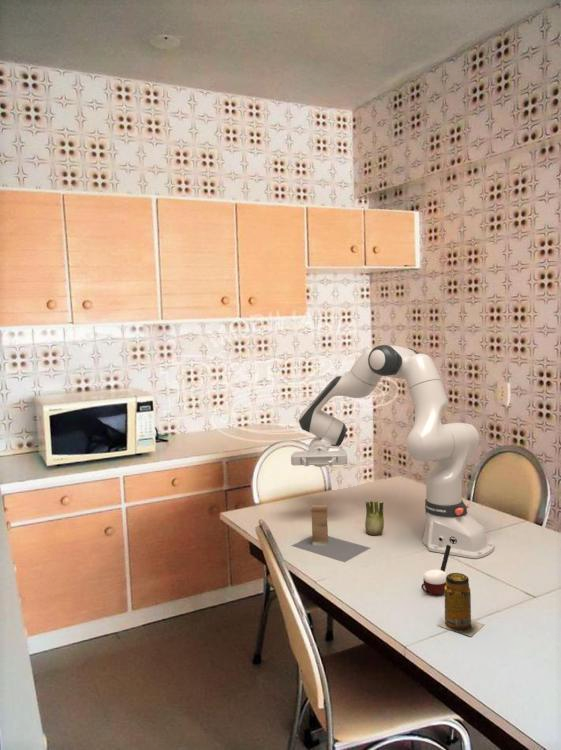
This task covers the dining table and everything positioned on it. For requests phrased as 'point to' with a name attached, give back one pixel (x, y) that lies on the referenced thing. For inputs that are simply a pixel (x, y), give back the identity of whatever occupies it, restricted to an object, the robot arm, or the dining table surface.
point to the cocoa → (436, 577)
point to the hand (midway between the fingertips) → (318, 463)
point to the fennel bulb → (374, 518)
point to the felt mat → (333, 548)
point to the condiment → (458, 605)
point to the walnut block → (319, 525)
